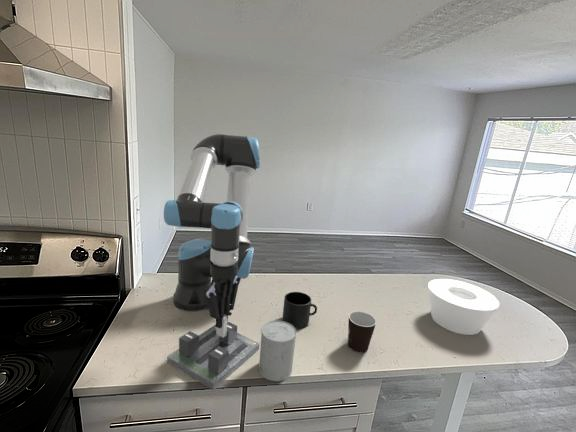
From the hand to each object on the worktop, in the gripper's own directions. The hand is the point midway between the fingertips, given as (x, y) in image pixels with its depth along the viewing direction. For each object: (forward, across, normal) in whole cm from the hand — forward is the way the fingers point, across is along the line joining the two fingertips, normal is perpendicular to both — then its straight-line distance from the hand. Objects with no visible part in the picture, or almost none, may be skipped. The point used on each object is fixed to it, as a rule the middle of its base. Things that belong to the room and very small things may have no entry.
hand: (221, 334), depth 96 cm
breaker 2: (+3, -8, -6) cm, 10 cm away
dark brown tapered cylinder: (+6, +29, -33) cm, 45 cm away
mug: (+6, +28, -11) cm, 31 cm away
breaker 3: (+3, +3, 0) cm, 4 cm away
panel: (+5, -3, 0) cm, 6 cm away
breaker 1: (+3, -8, +5) cm, 10 cm away
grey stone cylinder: (+6, +3, -17) cm, 19 cm away
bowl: (+6, +66, -59) cm, 89 cm away
